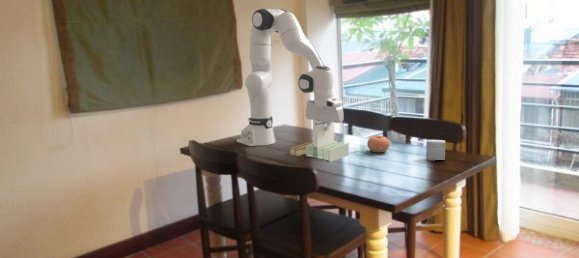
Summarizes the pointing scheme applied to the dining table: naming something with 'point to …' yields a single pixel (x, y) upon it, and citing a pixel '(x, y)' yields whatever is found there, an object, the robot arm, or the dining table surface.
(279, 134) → the dining table surface
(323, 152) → the rack
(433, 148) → the medicine box
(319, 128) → the plate
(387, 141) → the orange rounded piece
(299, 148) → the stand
